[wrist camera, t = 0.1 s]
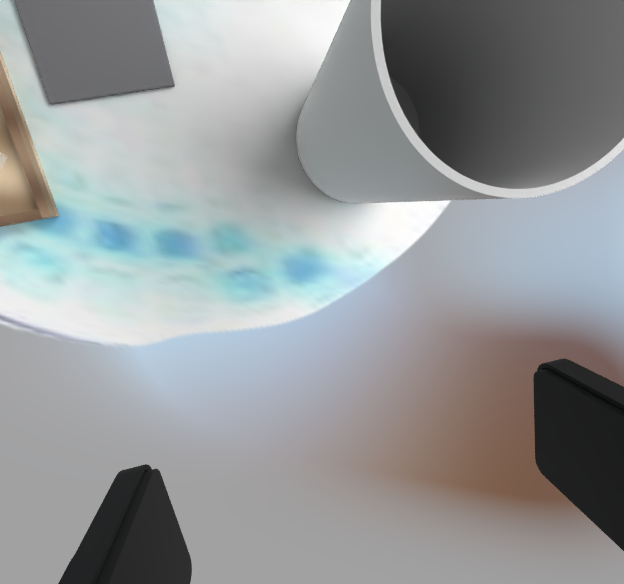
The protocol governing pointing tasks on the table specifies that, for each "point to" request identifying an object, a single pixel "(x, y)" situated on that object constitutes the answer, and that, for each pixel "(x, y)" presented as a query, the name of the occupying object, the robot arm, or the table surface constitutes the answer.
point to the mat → (95, 47)
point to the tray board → (20, 164)
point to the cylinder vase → (465, 99)
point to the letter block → (2, 160)
